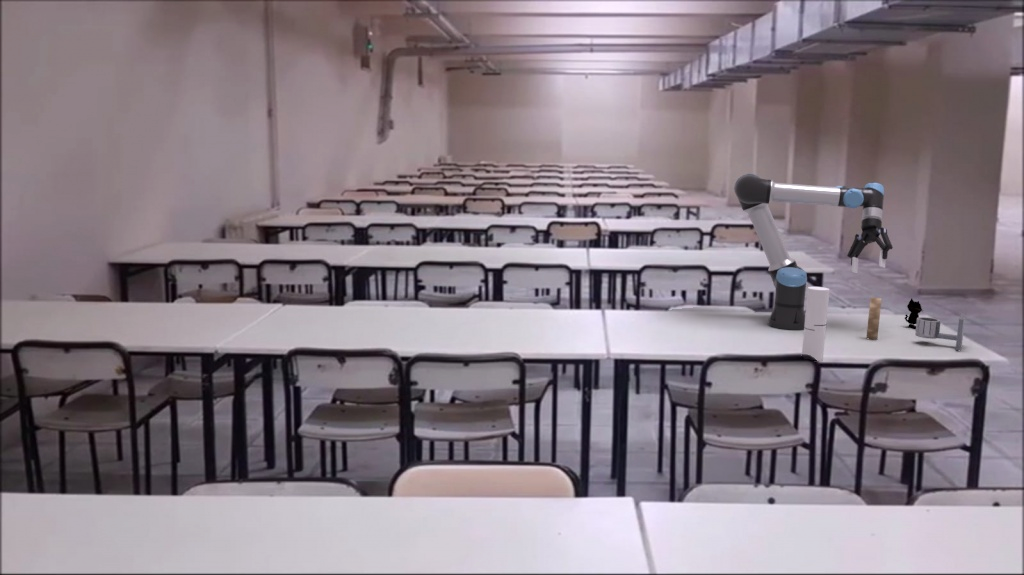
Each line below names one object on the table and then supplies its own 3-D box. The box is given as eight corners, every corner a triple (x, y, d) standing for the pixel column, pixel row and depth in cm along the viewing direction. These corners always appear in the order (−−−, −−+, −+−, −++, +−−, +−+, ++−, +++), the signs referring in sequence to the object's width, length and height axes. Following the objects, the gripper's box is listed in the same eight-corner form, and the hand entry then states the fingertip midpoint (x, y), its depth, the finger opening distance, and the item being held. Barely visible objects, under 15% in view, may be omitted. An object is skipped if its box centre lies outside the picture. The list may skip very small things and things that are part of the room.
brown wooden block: (865, 339, 351) (869, 298, 348) (867, 337, 354) (871, 297, 352) (876, 340, 349) (880, 299, 346) (878, 338, 352) (882, 298, 350)
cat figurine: (924, 329, 371) (927, 301, 369) (908, 329, 371) (911, 300, 369) (915, 325, 378) (918, 297, 376) (899, 325, 378) (903, 297, 376)
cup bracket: (912, 345, 343) (916, 314, 341) (916, 339, 353) (919, 309, 351) (959, 351, 335) (963, 319, 333) (961, 345, 345) (965, 314, 343)
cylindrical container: (824, 361, 313) (830, 290, 309) (802, 360, 315) (809, 289, 310) (821, 356, 320) (827, 287, 316) (800, 355, 322) (806, 286, 317)
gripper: (904, 216, 355) (900, 267, 350) (853, 230, 377) (849, 278, 371) (891, 210, 352) (887, 261, 347) (841, 224, 374) (836, 272, 368)
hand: (867, 270), depth 359 cm, fingers open, 13 cm apart
